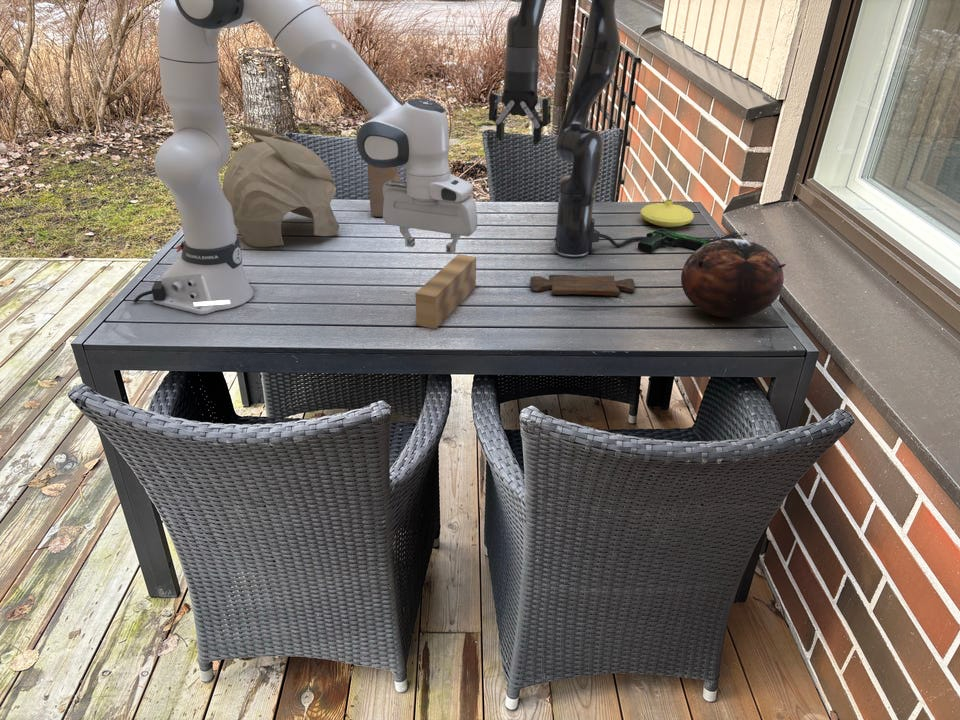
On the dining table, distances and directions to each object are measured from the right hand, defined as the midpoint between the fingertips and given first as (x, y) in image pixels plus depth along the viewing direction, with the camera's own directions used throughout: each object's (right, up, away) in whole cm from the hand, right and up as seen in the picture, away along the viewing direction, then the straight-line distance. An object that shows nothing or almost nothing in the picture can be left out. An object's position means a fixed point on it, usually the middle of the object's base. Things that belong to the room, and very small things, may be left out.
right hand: (518, 142), depth 167 cm
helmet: (-64, -15, +37) cm, 76 cm away
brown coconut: (+47, -40, -2) cm, 62 cm away
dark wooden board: (+16, -33, +9) cm, 38 cm away
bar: (-16, -38, 0) cm, 42 cm away
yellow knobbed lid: (+47, -9, +50) cm, 69 cm away
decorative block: (-34, -6, +53) cm, 64 cm away
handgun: (+44, -20, +33) cm, 58 cm away
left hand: (-19, -27, -16) cm, 37 cm away
